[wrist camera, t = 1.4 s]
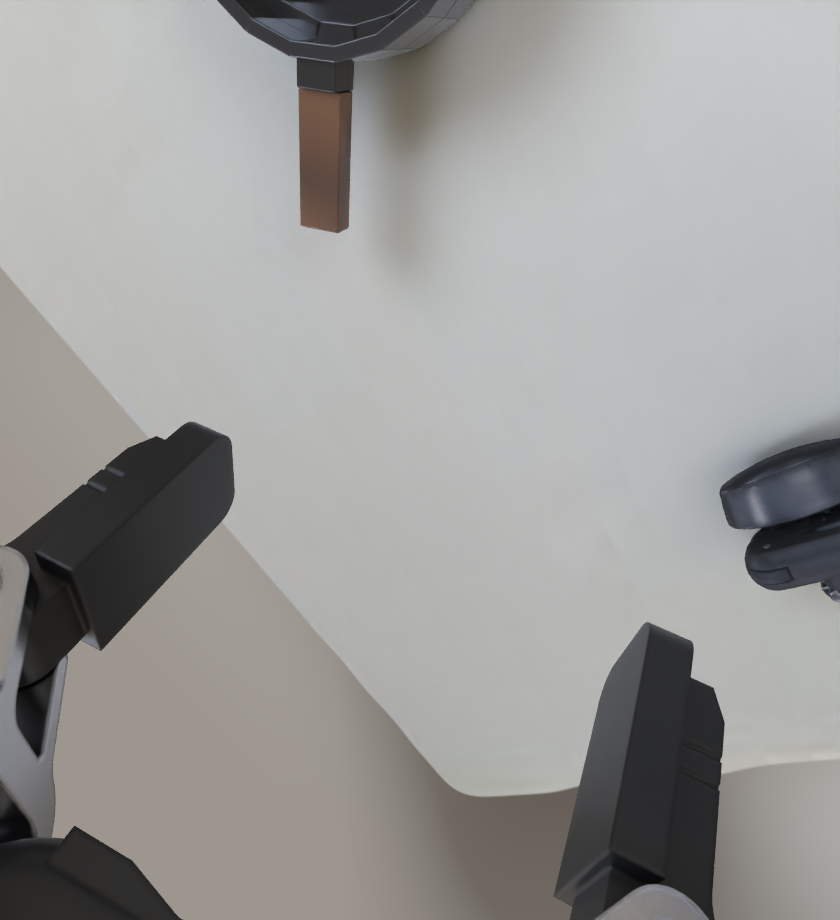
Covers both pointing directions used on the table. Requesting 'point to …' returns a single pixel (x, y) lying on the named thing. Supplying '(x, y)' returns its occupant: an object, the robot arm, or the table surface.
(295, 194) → the table surface
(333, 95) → the pan handle
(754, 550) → the can opener
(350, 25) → the pan
